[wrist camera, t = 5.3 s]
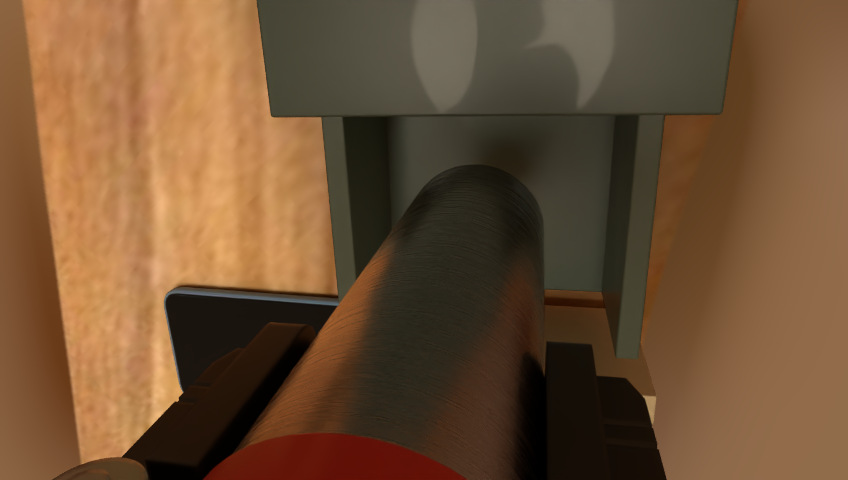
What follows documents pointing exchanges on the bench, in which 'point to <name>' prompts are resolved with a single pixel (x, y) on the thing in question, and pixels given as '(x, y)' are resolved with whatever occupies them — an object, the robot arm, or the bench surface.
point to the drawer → (552, 188)
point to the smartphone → (230, 322)
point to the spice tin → (423, 352)
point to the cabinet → (496, 57)
